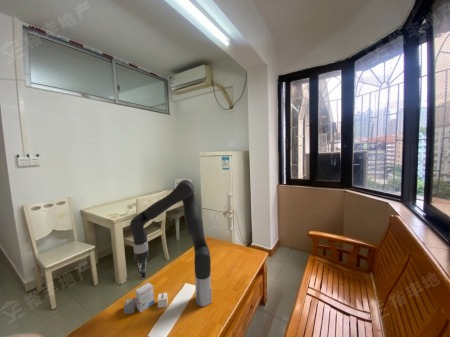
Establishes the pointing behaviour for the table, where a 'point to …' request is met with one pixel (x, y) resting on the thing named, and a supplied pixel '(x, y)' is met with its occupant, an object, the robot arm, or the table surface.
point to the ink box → (144, 297)
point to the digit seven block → (130, 306)
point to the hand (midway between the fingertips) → (143, 277)
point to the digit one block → (162, 300)
